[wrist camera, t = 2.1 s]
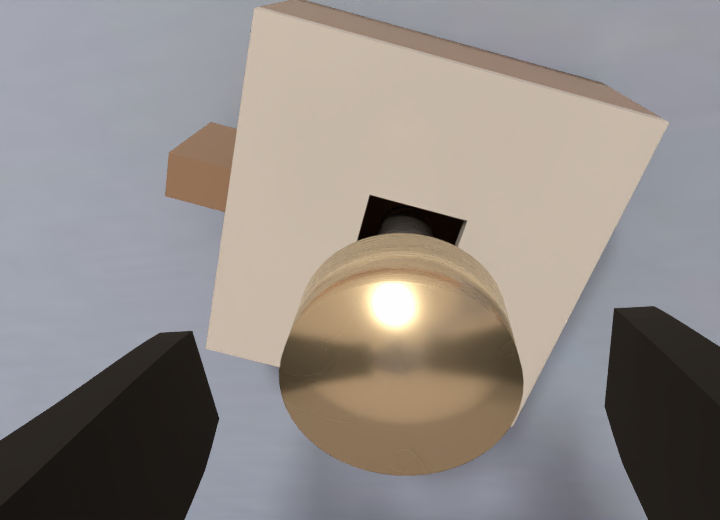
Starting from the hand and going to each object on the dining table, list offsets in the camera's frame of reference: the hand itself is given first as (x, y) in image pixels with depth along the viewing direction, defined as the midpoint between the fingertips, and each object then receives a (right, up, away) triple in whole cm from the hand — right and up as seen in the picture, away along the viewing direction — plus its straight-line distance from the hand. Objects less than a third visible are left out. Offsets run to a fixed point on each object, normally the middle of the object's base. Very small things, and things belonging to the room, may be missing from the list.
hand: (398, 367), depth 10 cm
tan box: (+1, +4, +8) cm, 9 cm away
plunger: (+1, +3, +5) cm, 6 cm away
